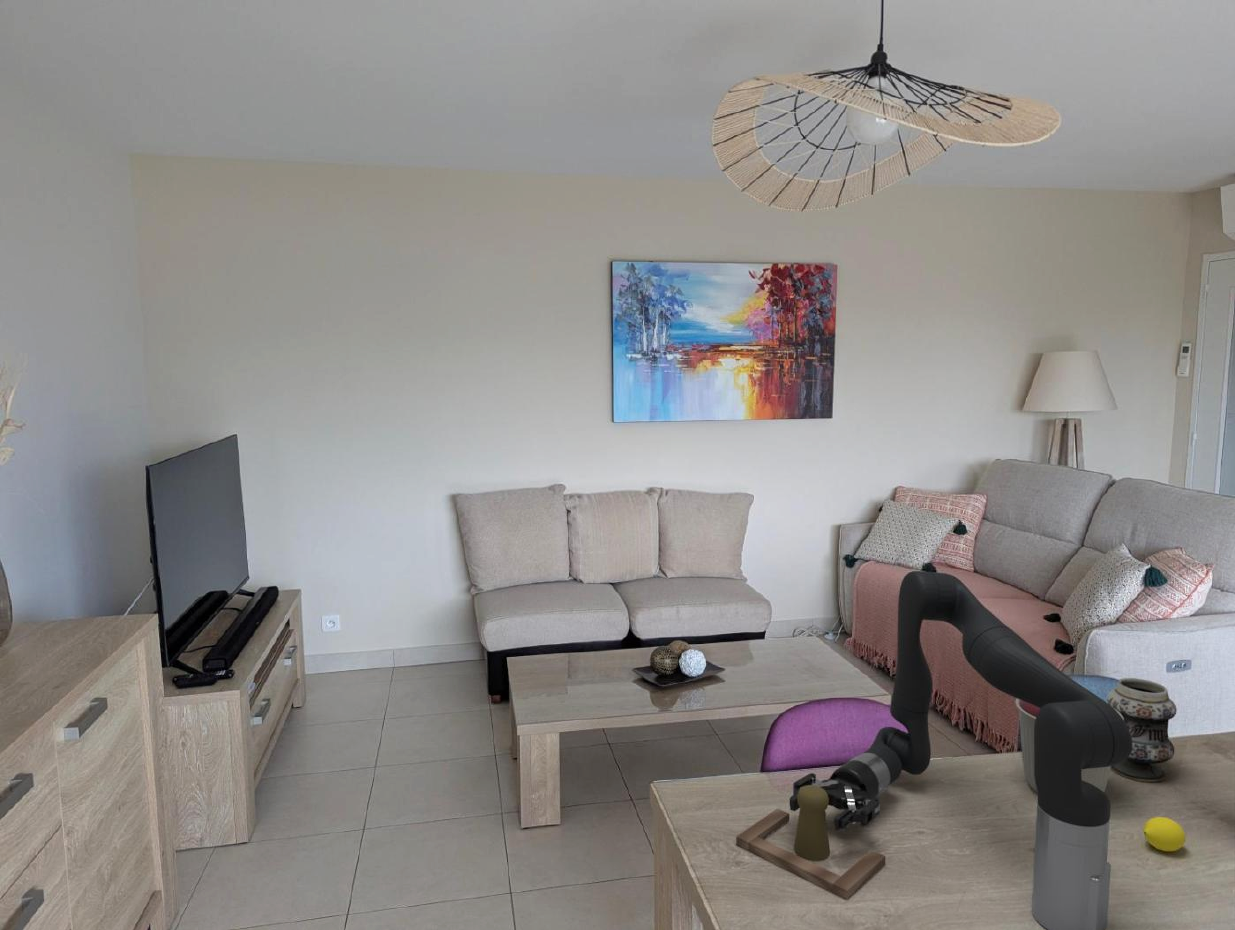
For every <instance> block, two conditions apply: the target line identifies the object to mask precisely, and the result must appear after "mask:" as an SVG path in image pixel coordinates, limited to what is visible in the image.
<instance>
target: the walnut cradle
mask: <svg viewBox="0 0 1235 930" xmlns="http://www.w3.org/2000/svg"><path fill="white" fill-rule="evenodd" d="M788 821H789V822H790V813H788V812H786V811H784V810H782V809H780V808H776V809H774V810H773V811H771V812H770V813H769V814H767V815H765V816H764V817H763V818H761V819H760V820H758V821H757V822H755V823H754V824H752V825H751V826H750V827H748V828H746V829H745V830H744V831H742V832H741V833H739V834H738V835H736V836H735V838H736V839H735V840H736V843H735V845H736V846H738V847H740V848H742V849H744V850H746V851H749V852H750V853H752V854H754V855H756V856H758V857H760V858H762V859H764V860H766V861H768V862H771V863H772V864H774V865H776V866H779V867H781V868H782V869H784V870H786V871H788V872H790V873H793V874H794V875H796V876H799V877H800V878H803V879H804V880H807V881H809V882H810V883H812V884H814V885H817V886H818V887H821V888H823V889H824V890H826V891H828V892H831V893H833V894H834V895H836V896H838V897H840V898H842V899H844V900H848V899H850V898H851V897H852V896H853V895H854V894H855V893H856V892H857V891H858V890H859V889H860V888H862V887H863V886H864V885H865V884H866V883H867V882H868V881H869V880H870V879H871V878H873V876H875V875H876V874H877V873H878V872H879V871H880V870H881V869H882V868H883V867H884V866H885V865H886V855H884V854H882V853H879V852H877V851H875V850H873V849H870V851H869V852H867V853H866V854H865V855H863V856H862V858H860V859H859V860H858V861H857V862H856V863H854V864H853V865H852V866H851V867H850V868H849V869H848V870H846V871H845V872H844V873H843V874H842V875H841V876H840V875H838V874H836V873H834V872H832V871H830V870H828V869H826V868H824V867H822V866H819V865H818V864H816V863H813V861H809V860H805V859H803V858H801V857H799V856H798V855H797V854H796V853H795V854H794V853H793V852H790V851H789V850H786V849H784V848H783V847H780V846H778V845H776V844H774V843H771V842H770V841H768V840H765V839H766V837H767V836H768V835H769V836H771V835H772V834H773V833H772V832H773V831H775V832H777V831H778V830H779V829H780V827H781V826H782V825H783V824H785V823H786V824H788V823H789V822H788ZM787 822H788V823H787ZM786 824H785V825H786ZM783 826H784V825H783ZM783 826H782V827H783ZM782 827H781V828H782ZM777 829H778V830H777ZM771 833H772V834H771ZM770 834H771V835H770ZM769 836H768V837H769ZM768 837H767V838H768Z"/></svg>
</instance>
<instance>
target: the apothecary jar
mask: <svg viewBox="0 0 1235 930" xmlns="http://www.w3.org/2000/svg"><path fill="white" fill-rule="evenodd" d="M1106 703H1108V704H1109V705H1110V706H1111V707H1113V708H1114V709H1116V710H1117V711H1118V712H1119V713H1120V714H1121V715H1122V716H1123V718H1124V721H1125V723H1126V725H1127V727H1128V729H1129V731H1130V734H1131V737H1132V744H1133V747H1132V752H1131V754H1130V756H1129V757H1128V758H1127V760H1125V761H1124V762H1122V763H1120V764H1117V765H1113V766H1111V769H1110V771H1112V772H1114V773H1116V774H1117V775H1120V776H1122V777H1124V778H1127V779H1130V780H1133V781H1139V782H1146V783H1158V782H1162V781H1165V779H1166V777H1167V773H1166V772H1165V770H1164V769H1163V768H1161V766H1158V765H1157V764H1162V763H1166V762H1167V761H1170V760H1171V759H1172V758H1173V757H1174V755H1175V747H1174V744H1173V743H1172V741H1171V740H1170V739H1169V737H1168V735H1169V730H1168V729H1169V720H1172V719H1173V718H1174V717H1175V716H1176V714H1177V705H1176V704H1175V702H1174V701H1173V700H1172V699H1171V698H1170V696H1169V693H1168V688H1167V687H1166V686H1164V685H1162V684H1161V683H1158V682H1155V681H1152V680H1147V679H1143V678H1135V677H1123V678H1120V679H1118V681H1117V685H1116V687H1115V688H1113V689H1112V690H1110V691H1109V692H1108V694H1107V696H1106Z"/></svg>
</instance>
